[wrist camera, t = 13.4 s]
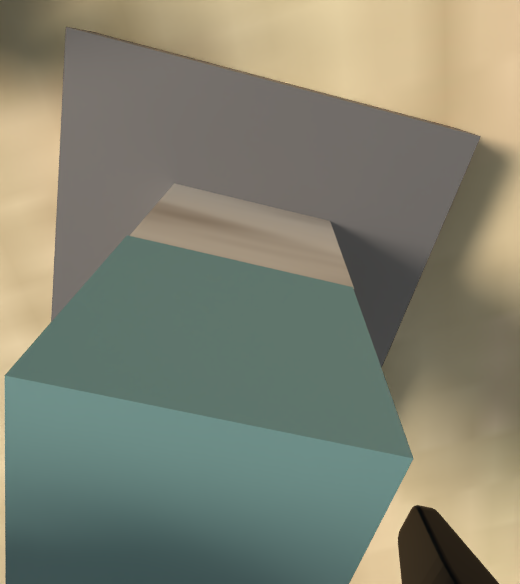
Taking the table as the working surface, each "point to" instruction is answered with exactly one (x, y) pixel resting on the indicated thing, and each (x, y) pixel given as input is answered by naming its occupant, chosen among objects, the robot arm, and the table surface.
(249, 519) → the teal block
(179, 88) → the base board
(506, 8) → the table surface
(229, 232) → the cream block
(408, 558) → the robot arm
